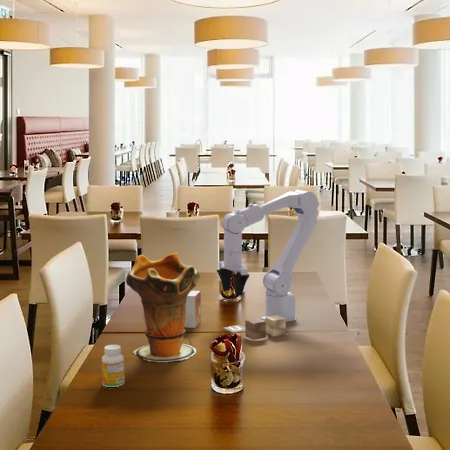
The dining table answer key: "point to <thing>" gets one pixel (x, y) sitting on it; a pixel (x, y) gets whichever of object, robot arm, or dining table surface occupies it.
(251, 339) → the coaster
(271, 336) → the code tile
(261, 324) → the walnut block
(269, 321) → the maple block
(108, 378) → the supplement bottle
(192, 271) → the decorative vase
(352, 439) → the dining table surface
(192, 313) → the small box
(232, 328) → the code tile
